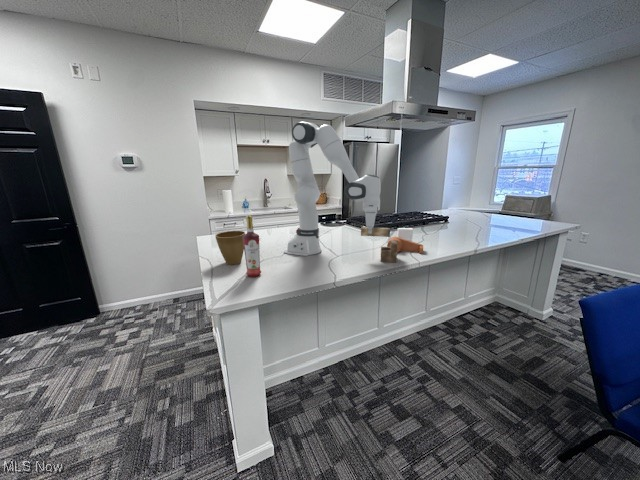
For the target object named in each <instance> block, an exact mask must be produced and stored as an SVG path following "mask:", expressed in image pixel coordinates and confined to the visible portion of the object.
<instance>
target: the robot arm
mask: <svg viewBox="0 0 640 480" xmlns="http://www.w3.org/2000/svg"><path fill="white" fill-rule="evenodd" d="M291 136H292V139H293V141H291V142H290V143H289V145H288V154H289V156H288V157H289V161H290V166H291V169H292V173H293V174H292V175H293V178H294V180H295V181H296V183H297V187H298V189H297V190H296V191H295V193H294V201H295V202H296V208H297V211H298V220H299V222H298V223H299V227H298V228H297V229H296V230H295V233H296V234H295V235H294V236H293V237H292V238H290V239H289V240H288V243H287V246H286V247H284V249H283V253H284V254H289V255H294V256H295V255H296V256H305V257H307V256H311V255H317V254H319V253H321V252H322V248H321V244H320V227H319V213H318V210H317V205H316V204H317V202H318V201H319V199H320V196H321V191H320V189H319V186H318V183H317V179H316V178H315V175H314V171H313V170H314V169H313V167H312V161H311V158H310V157H311V156H310V153H309V151H310V150H309V149H310V148H313V147H315V146H316V145H318V146H319V147H320V150H321V151H322V153H323V155H324V156H325V158H326V159H327V161H328V162H329V163H330V164H332V165H334V166H336V167H337V168H339V170H340V171H341V172H342V173H343V175H344V177H345V179H346V181H347V182H348V183H347V184H346V185H345V187H344V194H345V196H346V198H347V199H349V200H350V201H351V200H352V201H357V200H361V199H362V211H363V212H364V214H365V215H364V217H365V227H368V230H369V231H368V233H369V234H372V228H373V227H374V226H375V221H376V217H377V214H378V211H380V210H381V196H380V195H381V191H382V190H381V189H382V187H381V186H382V185H381V178H380V176H377V175H375V174H369V173H368V174H367V173H366V174H365V175H364V176H362V177H361V178H360V176H359V174H358V173H357V171H356V169H355V168H354V166H353V164H352V163H351V161H350V157H349V155H348V153H347V151H346V147H345V146H344V143H343V142H342V140H341V138H340V136H339V135H338V133H337V131H336V130H335V129H334V128H333V126H332V125H330V124H323V125H318V124H316V123H314V122H308V121H307V122H306V121H299V122H296V123H295V124H294V125H293V127H292V129H291Z"/></svg>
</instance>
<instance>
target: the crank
mask: <svg viewBox="0 0 640 480" xmlns="http://www.w3.org/2000/svg"><path fill="white" fill-rule="evenodd" d="M391 240H397V253H398V252H400V251H404V252H416V253H419V254H420V255H421V254H423V255H424V244H421V243H418V242H414V241H413V240H412V241H409V240H405V239H402V238H399V237H397V236H392V237H389V240H388V241H387V245H386V247H391Z"/></svg>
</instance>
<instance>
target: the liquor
mask: <svg viewBox="0 0 640 480" xmlns="http://www.w3.org/2000/svg"><path fill="white" fill-rule="evenodd" d="M245 219H246V233H245V235H244V236H243V237H242V238H243V245H244V252H243V253H244V257H245V258H244V259H245V265H246V275H247V276H249V277H250V278H257V277H259V276H260V275H261V273H262V271H261V264H260V263H261V261H260V260H261V258H260V235H259V234H258V233H255V232H254V226H253V216H252V215H246V216H245Z"/></svg>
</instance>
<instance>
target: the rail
mask: <svg viewBox="0 0 640 480" xmlns="http://www.w3.org/2000/svg"><path fill="white" fill-rule="evenodd" d="M368 231H369V230H368V227H366V226H361V227H360V237H362V236H363V237H382V238H384V237H385V238H391V228H390V227H376V226H375V227H373V228H372V234H369V233H368Z"/></svg>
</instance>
